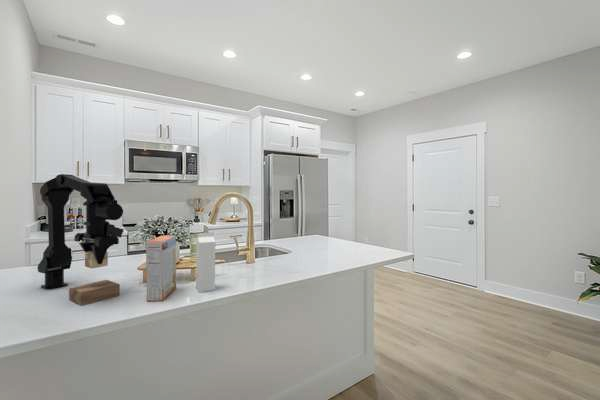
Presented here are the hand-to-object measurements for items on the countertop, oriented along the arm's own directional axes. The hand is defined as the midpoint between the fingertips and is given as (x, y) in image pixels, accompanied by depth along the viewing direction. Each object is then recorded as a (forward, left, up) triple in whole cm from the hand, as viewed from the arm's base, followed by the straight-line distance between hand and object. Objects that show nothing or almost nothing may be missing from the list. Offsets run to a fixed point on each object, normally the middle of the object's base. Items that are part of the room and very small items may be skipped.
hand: (96, 263), depth 103 cm
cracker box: (+16, +15, -12) cm, 25 cm away
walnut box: (0, 0, -12) cm, 12 cm away
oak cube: (0, 0, -1) cm, 1 cm away
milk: (+24, +28, -12) cm, 39 cm away
